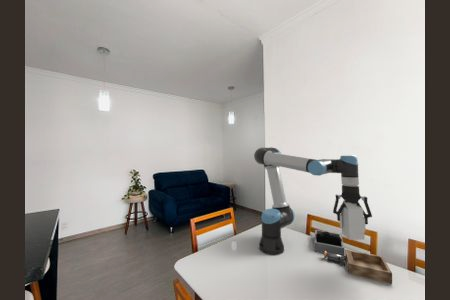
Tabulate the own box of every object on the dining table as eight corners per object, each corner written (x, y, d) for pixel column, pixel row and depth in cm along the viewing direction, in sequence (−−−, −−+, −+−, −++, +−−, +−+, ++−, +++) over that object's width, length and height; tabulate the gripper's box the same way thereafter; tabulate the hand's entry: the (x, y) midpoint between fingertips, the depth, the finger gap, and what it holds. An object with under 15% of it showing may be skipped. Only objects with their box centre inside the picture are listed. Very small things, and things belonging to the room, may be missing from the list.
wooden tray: (349, 273, 92) (348, 263, 92) (345, 258, 106) (345, 249, 106) (392, 284, 85) (392, 273, 85) (382, 265, 98) (382, 256, 98)
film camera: (339, 243, 122) (339, 229, 122) (342, 251, 113) (343, 236, 113) (313, 239, 127) (313, 226, 127) (315, 246, 118) (315, 232, 118)
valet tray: (314, 250, 114) (314, 242, 114) (315, 236, 132) (315, 229, 132) (344, 256, 107) (344, 248, 107) (341, 241, 125) (340, 233, 125)
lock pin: (324, 258, 104) (324, 252, 104) (324, 255, 107) (324, 249, 107) (345, 263, 99) (345, 256, 100) (345, 260, 103) (344, 253, 103)
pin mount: (327, 262, 102) (327, 255, 102) (327, 256, 108) (327, 250, 108) (345, 265, 99) (344, 259, 99) (343, 260, 104) (343, 253, 104)
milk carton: (364, 240, 92) (362, 201, 93) (349, 240, 93) (347, 201, 93) (355, 233, 99) (353, 198, 100) (341, 234, 100) (340, 198, 100)
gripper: (326, 185, 99) (328, 228, 98) (378, 187, 88) (381, 235, 88) (326, 183, 106) (328, 223, 105) (375, 185, 95) (377, 229, 94)
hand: (352, 228), depth 96 cm, fingers closed on milk carton, 9 cm apart
